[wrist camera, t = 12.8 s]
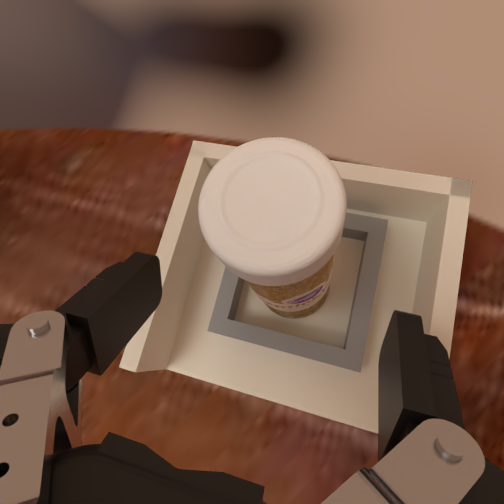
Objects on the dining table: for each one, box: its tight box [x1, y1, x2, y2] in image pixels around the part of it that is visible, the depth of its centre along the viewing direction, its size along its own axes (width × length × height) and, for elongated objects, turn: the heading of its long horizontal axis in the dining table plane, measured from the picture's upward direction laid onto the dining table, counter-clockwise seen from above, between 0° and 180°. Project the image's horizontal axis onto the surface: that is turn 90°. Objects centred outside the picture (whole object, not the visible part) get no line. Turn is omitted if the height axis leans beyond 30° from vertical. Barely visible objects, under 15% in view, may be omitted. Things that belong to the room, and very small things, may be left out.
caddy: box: [119, 141, 473, 434], centre depth 22 cm, size 16×14×5 cm
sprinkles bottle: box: [198, 137, 347, 319], centre depth 17 cm, size 5×5×13 cm
